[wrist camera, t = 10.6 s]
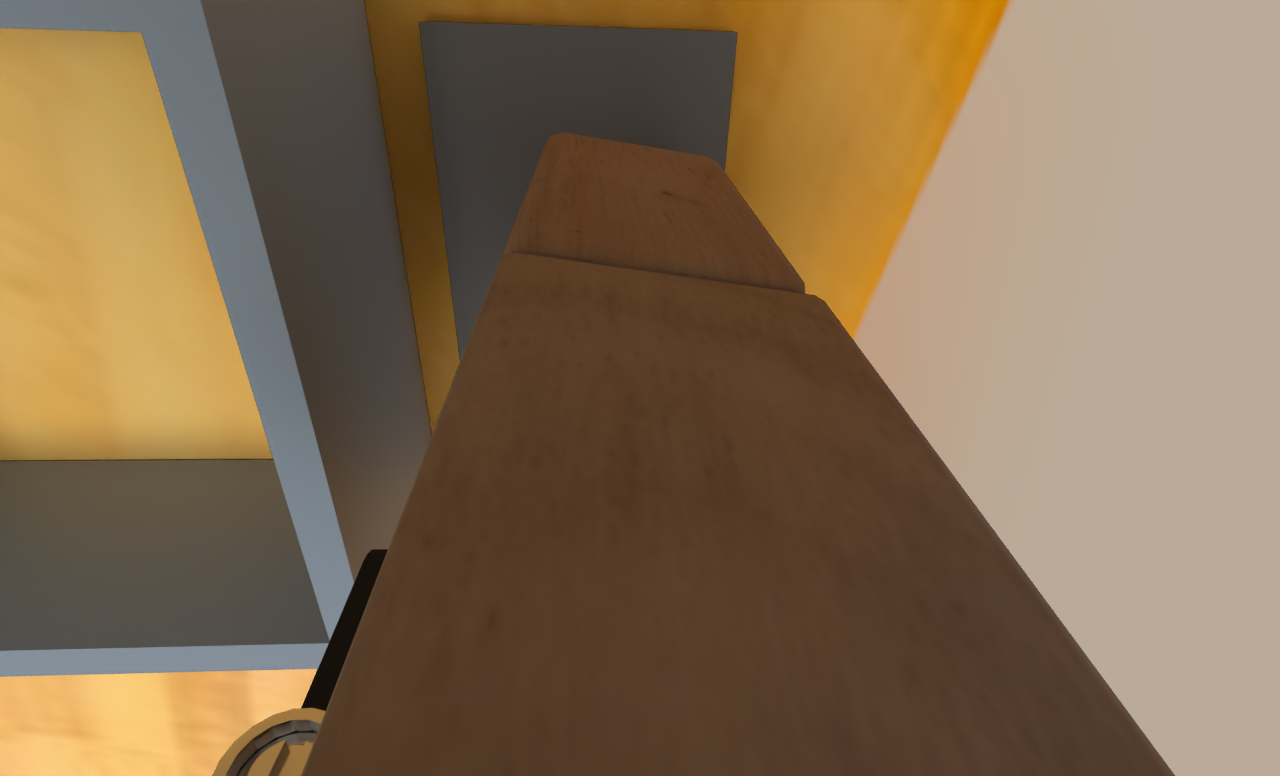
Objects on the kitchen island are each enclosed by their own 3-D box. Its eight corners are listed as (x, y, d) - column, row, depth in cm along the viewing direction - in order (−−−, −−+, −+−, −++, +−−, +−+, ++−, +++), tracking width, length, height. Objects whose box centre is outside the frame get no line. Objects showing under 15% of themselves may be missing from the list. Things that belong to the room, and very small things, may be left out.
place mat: (425, 20, 17) (418, 21, 16) (732, 31, 18) (737, 32, 17) (476, 457, 24) (473, 471, 24) (693, 456, 25) (696, 469, 24)
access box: (-386, -56, 15) (-1170, -96, 9) (359, -27, 17) (188, -44, 10) (-47, 484, 24) (-312, 684, 17) (438, 480, 25) (376, 667, 18)
